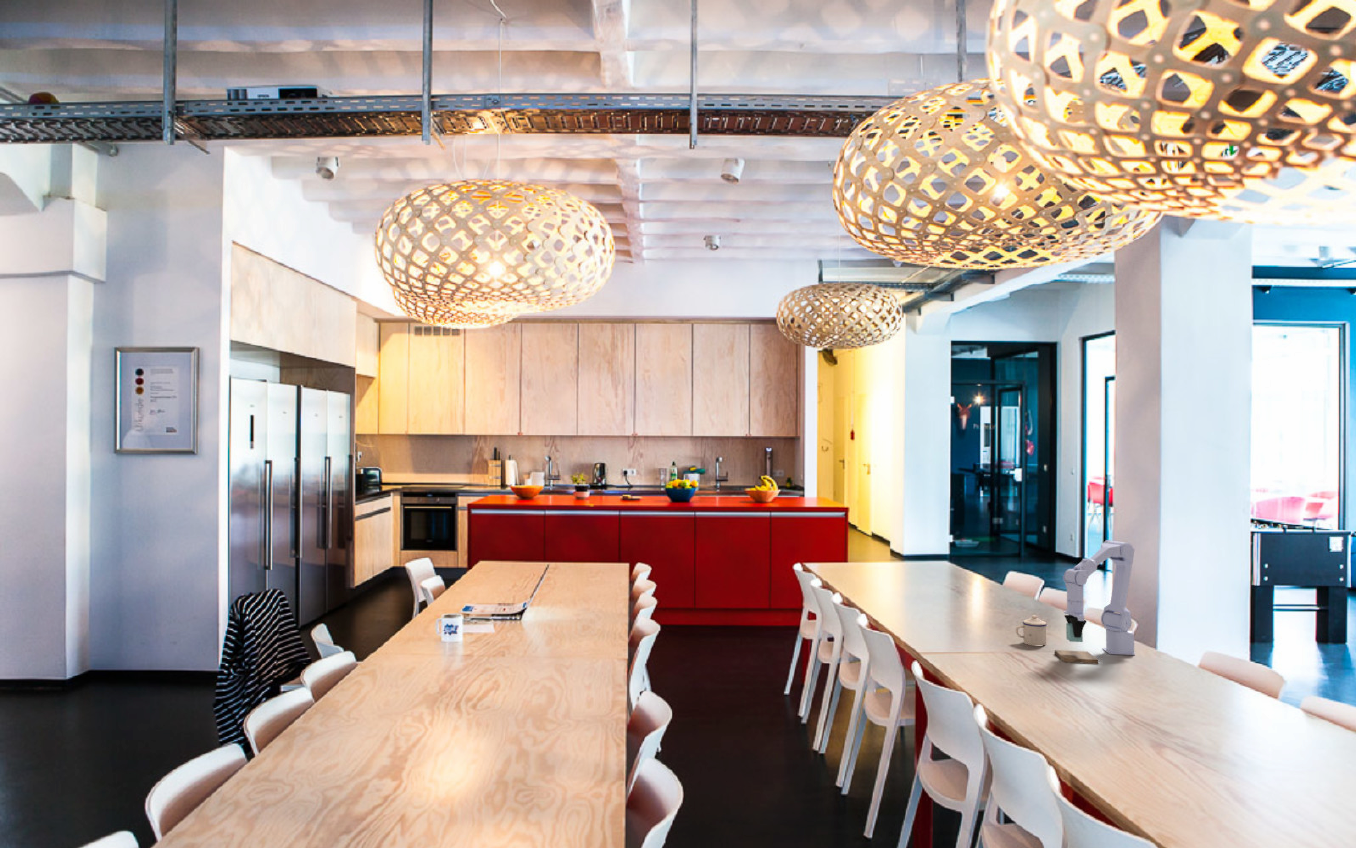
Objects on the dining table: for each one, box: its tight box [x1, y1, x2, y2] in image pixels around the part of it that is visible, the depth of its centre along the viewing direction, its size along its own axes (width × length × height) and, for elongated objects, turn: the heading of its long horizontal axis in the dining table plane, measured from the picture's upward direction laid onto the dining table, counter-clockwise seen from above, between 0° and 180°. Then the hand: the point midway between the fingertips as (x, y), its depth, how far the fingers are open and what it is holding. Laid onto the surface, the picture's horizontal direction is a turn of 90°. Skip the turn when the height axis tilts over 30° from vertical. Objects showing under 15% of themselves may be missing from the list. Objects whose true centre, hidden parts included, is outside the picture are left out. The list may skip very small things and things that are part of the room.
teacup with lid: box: [1015, 614, 1047, 646], centre depth 325 cm, size 12×9×12 cm
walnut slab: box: [1054, 649, 1099, 664], centre depth 302 cm, size 12×12×2 cm
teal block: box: [1065, 623, 1084, 643], centre depth 304 cm, size 4×4×6 cm
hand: (1075, 635), depth 304 cm, fingers closed on teal block, 4 cm apart
